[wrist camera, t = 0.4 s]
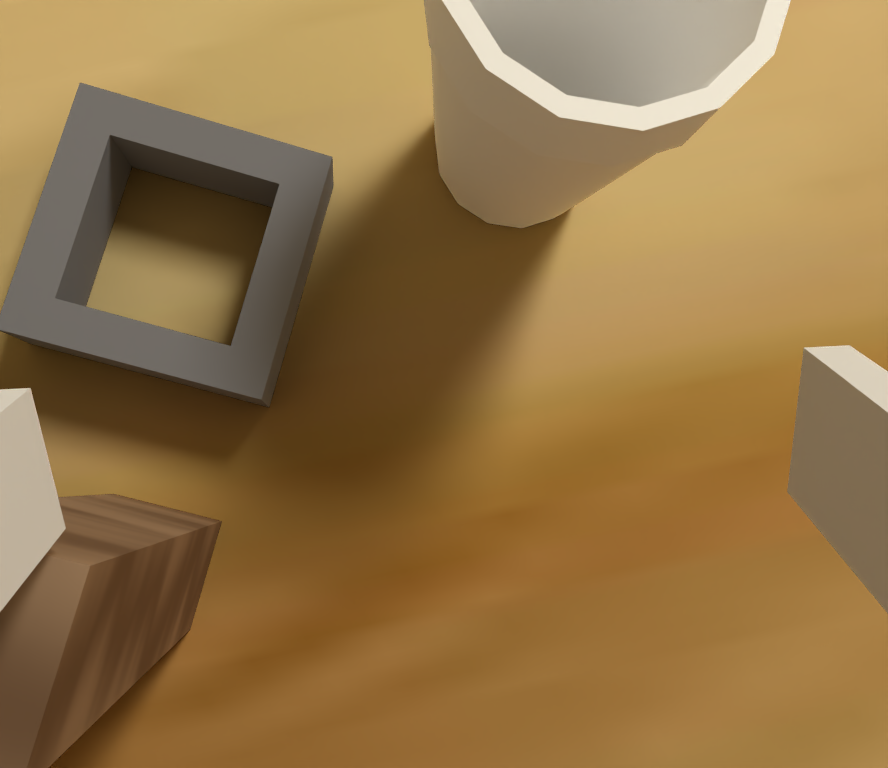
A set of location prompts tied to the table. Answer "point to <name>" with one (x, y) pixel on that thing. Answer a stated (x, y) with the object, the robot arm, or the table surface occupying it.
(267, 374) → the gray square frame
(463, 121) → the foam cup
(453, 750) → the table surface
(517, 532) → the table surface
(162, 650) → the walnut rod
